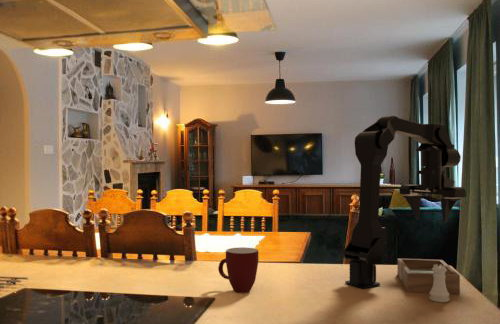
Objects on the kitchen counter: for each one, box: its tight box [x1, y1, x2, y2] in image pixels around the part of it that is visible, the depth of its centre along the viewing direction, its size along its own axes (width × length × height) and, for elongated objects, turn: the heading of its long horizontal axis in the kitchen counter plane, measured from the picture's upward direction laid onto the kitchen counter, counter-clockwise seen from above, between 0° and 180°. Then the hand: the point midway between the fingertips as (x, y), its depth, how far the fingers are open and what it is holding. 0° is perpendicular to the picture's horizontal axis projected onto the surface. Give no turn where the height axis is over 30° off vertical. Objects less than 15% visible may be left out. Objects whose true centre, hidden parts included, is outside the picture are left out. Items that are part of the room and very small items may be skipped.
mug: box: [217, 246, 260, 294], centre depth 116 cm, size 11×8×10 cm
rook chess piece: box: [428, 264, 451, 304], centre depth 108 cm, size 4×4×8 cm
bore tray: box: [397, 258, 461, 295], centre depth 123 cm, size 18×12×4 cm, turn 170°
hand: (431, 220), depth 137 cm, fingers open, 9 cm apart
